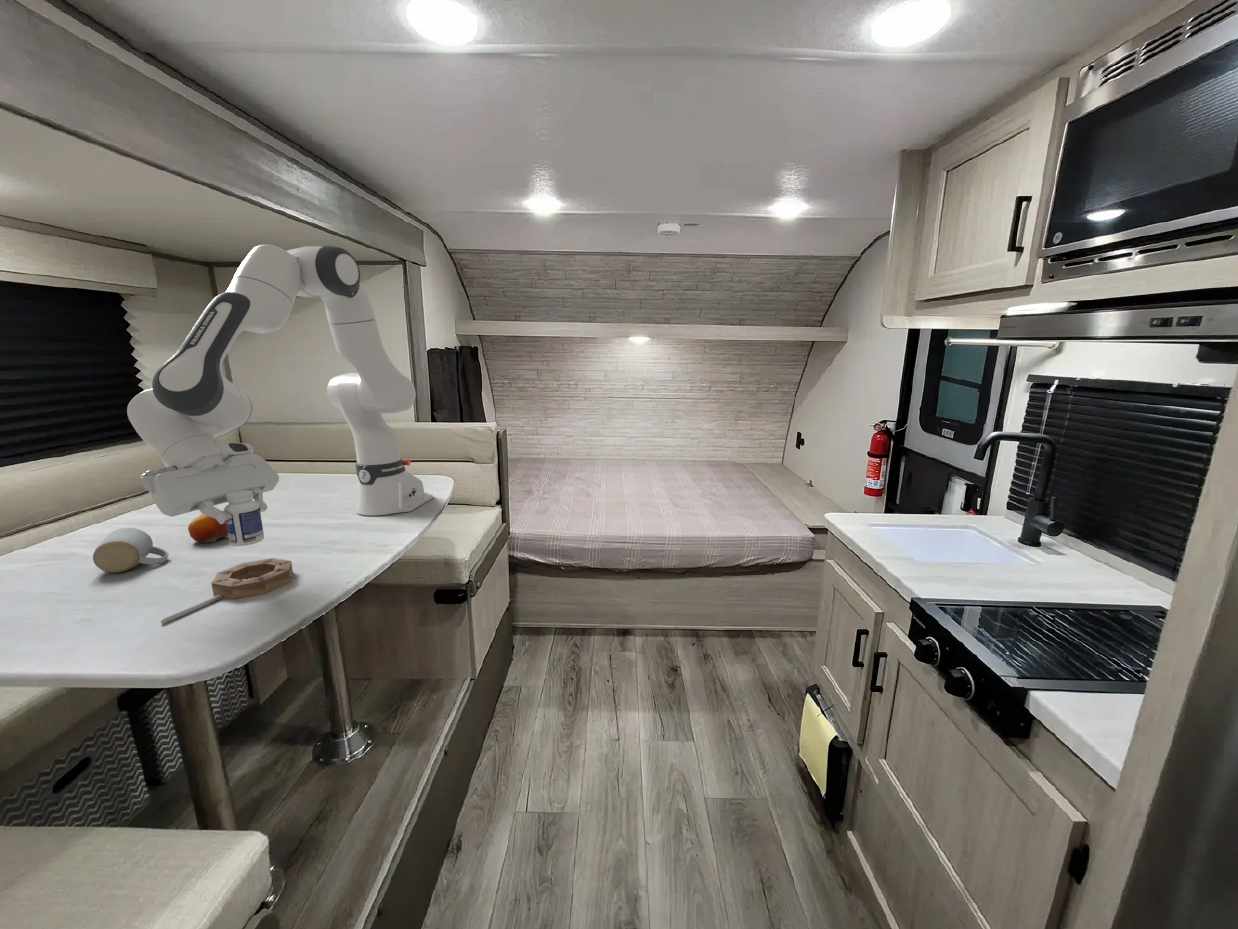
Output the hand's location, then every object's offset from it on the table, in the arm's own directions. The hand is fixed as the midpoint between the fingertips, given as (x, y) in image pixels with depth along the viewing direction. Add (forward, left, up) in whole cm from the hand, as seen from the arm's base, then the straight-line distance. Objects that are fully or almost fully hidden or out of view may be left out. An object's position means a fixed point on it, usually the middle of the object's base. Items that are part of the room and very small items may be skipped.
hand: (245, 515), depth 93 cm
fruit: (-15, -34, -14) cm, 40 cm away
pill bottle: (0, -1, -6) cm, 6 cm away
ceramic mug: (+1, -33, -14) cm, 36 cm away
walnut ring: (0, -1, -14) cm, 14 cm away
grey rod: (+11, -1, -14) cm, 18 cm away
